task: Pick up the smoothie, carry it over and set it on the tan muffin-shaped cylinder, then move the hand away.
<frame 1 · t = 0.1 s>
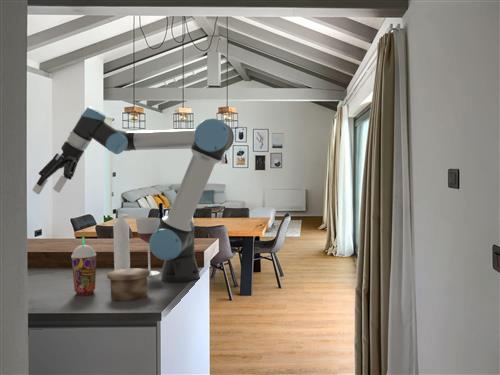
hand: (46, 191, 170), 36 cm above the table, tool tilted 35°, fingers open, 13 cm apart
water bottle: (123, 273, 189), on the table
smoothie: (85, 294, 158), on the table
wineglass: (149, 273, 188), on the table
tan muffin-shaped cylinder: (129, 295, 154), on the table
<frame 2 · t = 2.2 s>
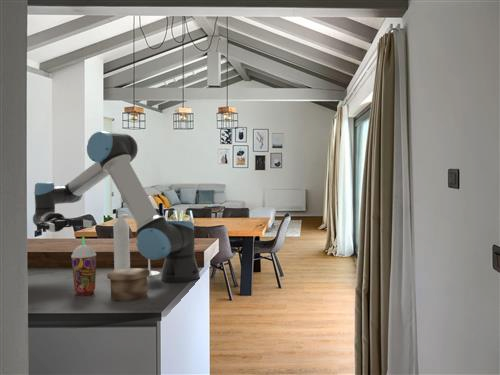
hand: (72, 226, 164), 23 cm above the table, tool horizontal, fingers open, 13 cm apart
nothing on the table moved.
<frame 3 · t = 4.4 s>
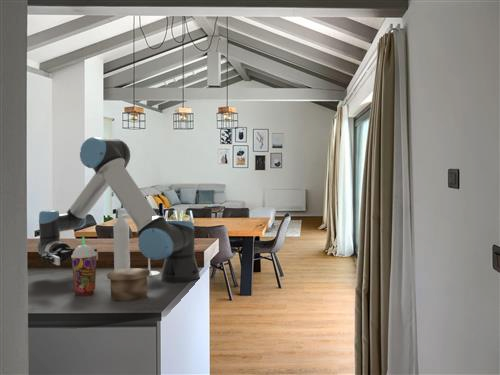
hand: (78, 258, 160), 12 cm above the table, tool horizontal, fingers open, 13 cm apart
nothing on the table moved.
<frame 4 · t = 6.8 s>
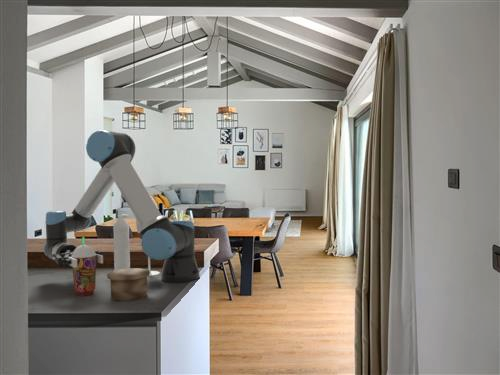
hand: (89, 261, 154), 12 cm above the table, tool horizontal, fingers closed on smoothie, 8 cm apart
smoothie: (85, 294, 158), on the table, touching gripper
everything else where it was.
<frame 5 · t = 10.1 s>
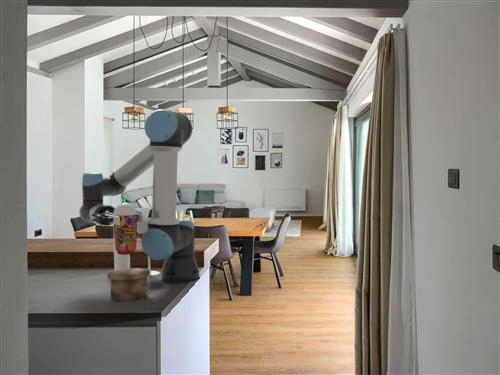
hand: (131, 219, 149), 27 cm above the table, tool horizontal, fingers closed on smoothie, 8 cm apart
smoothie: (126, 253, 153), point 15 cm above the table, touching gripper
everything else where it was.
when the fingers open (22 cm above the table, at t = 13.5 s): smoothie drops 1 cm, resting on tan muffin-shaped cylinder.
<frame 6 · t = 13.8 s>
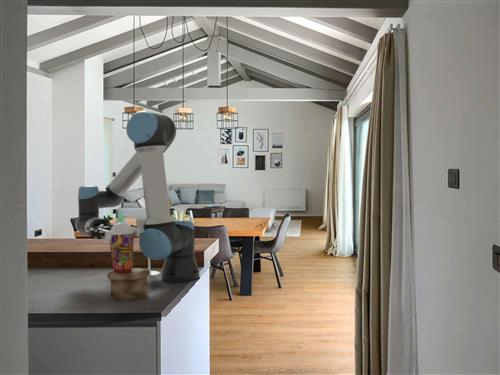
hand: (124, 233, 152), 22 cm above the table, tool horizontal, fingers open, 10 cm apart
smoothie: (122, 272, 155), point 8 cm above the table, touching tan muffin-shaped cylinder
everything else where it was.
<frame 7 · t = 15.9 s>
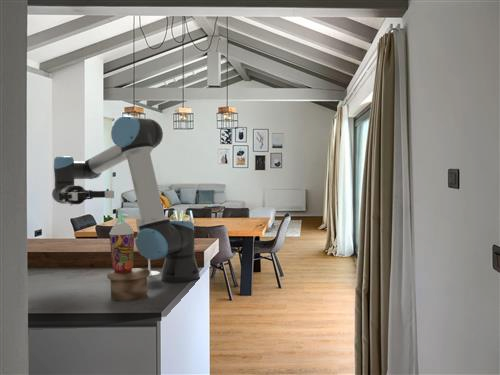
hand: (95, 195, 162), 34 cm above the table, tool horizontal, fingers open, 13 cm apart
nothing on the table moved.
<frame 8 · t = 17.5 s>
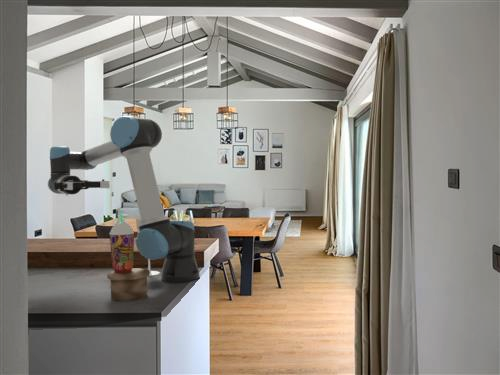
hand: (90, 185, 162), 38 cm above the table, tool horizontal, fingers open, 13 cm apart
nothing on the table moved.
at the end: smoothie inside the target area on the tan muffin-shaped cylinder (2.9 cm from its centre), point 7.8 cm above the tan muffin-shaped cylinder's base; smoothie tilted 0°; the gripper is holding nothing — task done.
